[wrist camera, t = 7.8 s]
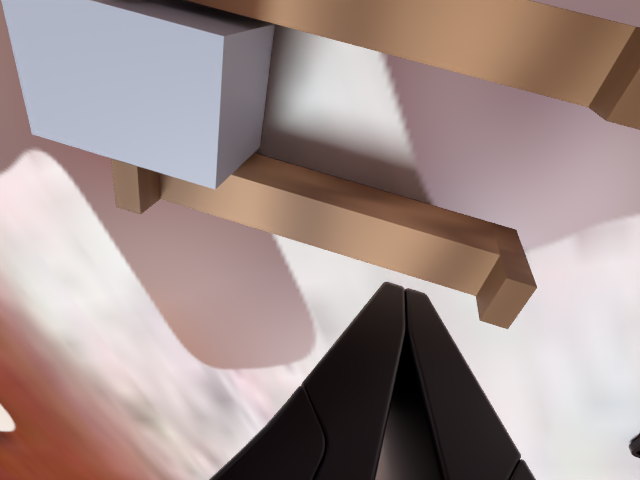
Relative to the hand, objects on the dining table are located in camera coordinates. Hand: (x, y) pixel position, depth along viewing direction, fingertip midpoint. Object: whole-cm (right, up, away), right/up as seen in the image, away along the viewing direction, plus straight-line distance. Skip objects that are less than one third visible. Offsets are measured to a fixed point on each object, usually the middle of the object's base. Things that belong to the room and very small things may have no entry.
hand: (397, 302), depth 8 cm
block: (-8, +9, +10) cm, 16 cm away
